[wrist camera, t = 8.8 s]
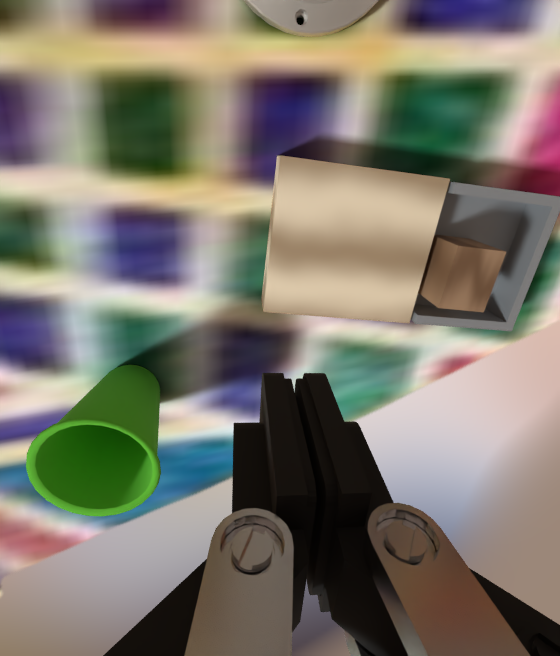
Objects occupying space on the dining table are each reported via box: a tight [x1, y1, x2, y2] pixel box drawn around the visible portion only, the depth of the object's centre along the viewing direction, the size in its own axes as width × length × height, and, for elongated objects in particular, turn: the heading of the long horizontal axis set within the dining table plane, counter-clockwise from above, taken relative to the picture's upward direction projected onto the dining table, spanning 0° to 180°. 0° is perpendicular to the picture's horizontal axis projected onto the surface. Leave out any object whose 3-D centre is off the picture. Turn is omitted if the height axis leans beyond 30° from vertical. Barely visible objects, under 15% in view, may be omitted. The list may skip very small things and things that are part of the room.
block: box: [418, 234, 506, 312], centre depth 32 cm, size 5×5×4 cm
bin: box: [411, 182, 560, 331], centre depth 33 cm, size 12×9×4 cm
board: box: [261, 156, 450, 323], centre depth 32 cm, size 12×13×3 cm
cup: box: [26, 365, 161, 516], centre depth 32 cm, size 9×9×11 cm
